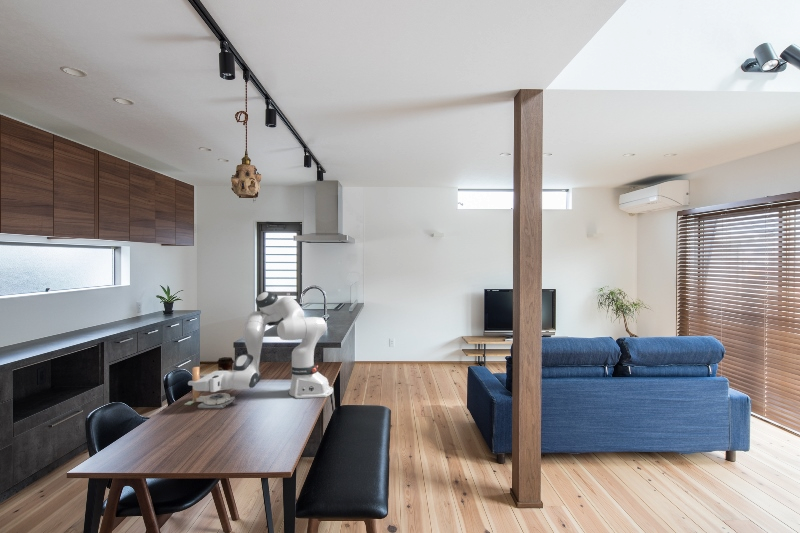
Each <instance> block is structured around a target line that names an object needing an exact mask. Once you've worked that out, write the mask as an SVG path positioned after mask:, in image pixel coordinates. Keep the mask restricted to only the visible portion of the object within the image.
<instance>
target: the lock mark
mask: <svg viewBox="0 0 800 533" xmlns="http://www.w3.org/2000/svg"><path fill="white" fill-rule="evenodd" d="M194 403H195V402H193V400H188V401H187V402H185V403H184V404H183V405H184V406H191V405H192V404H194Z"/></svg>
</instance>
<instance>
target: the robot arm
mask: <svg viewBox="0 0 800 533" xmlns="http://www.w3.org/2000/svg"><path fill="white" fill-rule="evenodd" d="M255 304H256V306H257V307H258V308H259V311H257V310H255V311H251V313H250V314H249V315H248V317H247V319H246V321H245V323H244V326H243V330H242V339H243V340H244V345H245V347H246V350H247V353H244V354H241V355H239V356H237V357H236V359H235V360H234V362H233V366H232V371H218V370H214V371H212V372H210V373H206V374H199V377H200V379H199V380H197V381H193V380H189V381H188V382H187V385H188V386H192V391H193V390H195V391H200V392H210V393H216V392H219V391H223V390H224V391H225V390H228V391H229V390H238V391H239V390H240V391H241V390H242V391H243V390H250V389H253V388H255V386H256V385H257V384H258V383H259V382H260V381H261V378H262V375H261V372H260V364H261V356H262V348H263V341H264V335H265V332H266V326H269V327H272V326H273V327H275V326H277V328H276V333H277V336H278V337H279V338H280V340H283V341H299V340H301V342H300V343H299V344H298V345H297V346H295V347H294V348H293V350H292V351H291V366H290V377H291V381H290V389H289V392H288V394H289V396H291V397H294V398H295V399H309V398H311V399H315V398H326V397H329V396H331V394H333V392H334V387H332V386H330V385H329V379H328V378H327V377H325V376H324V375H323V374H321V373H320V372H319V371H318V367H319V365H316V364H315V362H314V360H315V359H314V357H315V348H316V346H317V343H318V342H319V340H320V339H321V338H322V336H323V335H325V333H326V331H327V323H326V321H325V319H324V318H323V317H320V316H307V317H305V310H304V309H303V308H302V307H301V305H300V304H299V303H298V301H297V300H295V299H294V298H293V297H291V296H283V297H281V298H279V296H278V294H276V293H273V292H272V291H262V292H260V293H259V294H258V295H257V297H256V299H255Z"/></svg>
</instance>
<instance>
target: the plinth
mask: <svg viewBox="0 0 800 533" xmlns="http://www.w3.org/2000/svg"><path fill="white" fill-rule="evenodd" d="M213 394H214V395H212V399H218V398H222V394H218V393H217V394H216V393H213ZM233 400H234V401H235V400H236V397H235V396H230V399H229V400H228V401H227V402H225V403H221V404H215V405H207V404H205V403H204V402H201V403H200V404H198V405H197V408H198V409H224V408H225V407H226V405H227V406H228V405H230V404H231V403H232V402H234V401H233Z"/></svg>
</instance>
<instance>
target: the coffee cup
mask: <svg viewBox="0 0 800 533" xmlns="http://www.w3.org/2000/svg"><path fill="white" fill-rule="evenodd" d="M234 362H235V360H234V359H233V357H231V356H230V357H227V356H224V357H220V358H218V359H217V361H216V363H217V368H218V370H217V371H232V370H233V365H234Z"/></svg>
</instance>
